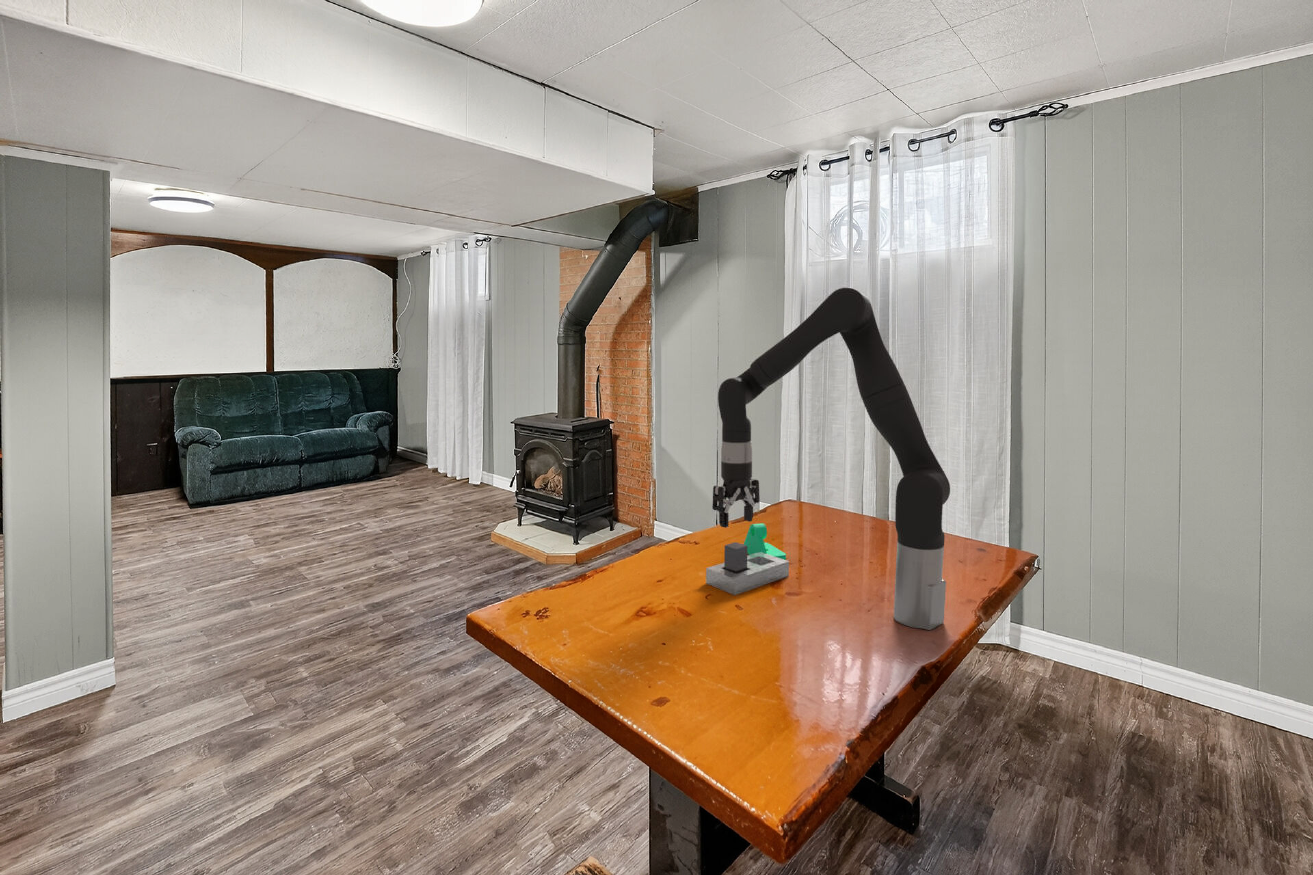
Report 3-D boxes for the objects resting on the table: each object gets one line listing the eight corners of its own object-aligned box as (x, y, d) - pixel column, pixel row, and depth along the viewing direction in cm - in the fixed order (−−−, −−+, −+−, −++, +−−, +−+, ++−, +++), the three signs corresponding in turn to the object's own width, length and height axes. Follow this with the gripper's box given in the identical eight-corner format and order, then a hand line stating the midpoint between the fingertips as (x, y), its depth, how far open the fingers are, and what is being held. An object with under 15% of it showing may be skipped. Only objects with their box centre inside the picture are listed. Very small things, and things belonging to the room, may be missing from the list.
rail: (788, 575, 163) (788, 561, 162) (734, 595, 151) (735, 579, 150) (759, 565, 171) (759, 551, 170) (706, 583, 158) (706, 568, 158)
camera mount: (787, 563, 173) (788, 527, 172) (762, 566, 171) (763, 530, 169) (766, 550, 184) (767, 516, 183) (743, 553, 182) (743, 519, 180)
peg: (746, 584, 158) (747, 545, 156) (735, 588, 155) (736, 549, 154) (735, 579, 161) (735, 542, 159) (724, 583, 158) (724, 545, 157)
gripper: (727, 464, 146) (727, 532, 148) (767, 457, 155) (767, 521, 157) (704, 461, 152) (705, 526, 154) (745, 454, 161) (745, 516, 163)
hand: (736, 523), depth 156 cm, fingers open, 8 cm apart
